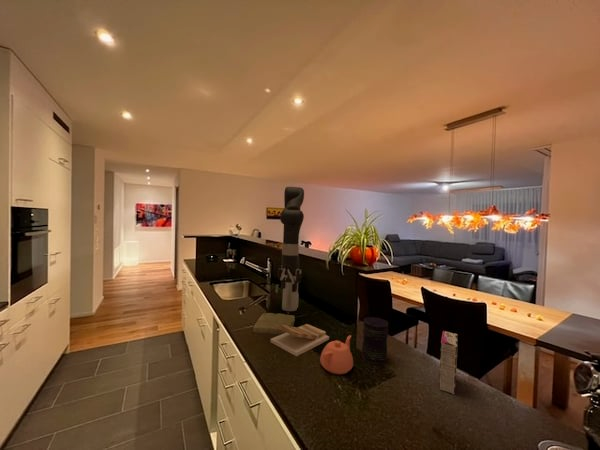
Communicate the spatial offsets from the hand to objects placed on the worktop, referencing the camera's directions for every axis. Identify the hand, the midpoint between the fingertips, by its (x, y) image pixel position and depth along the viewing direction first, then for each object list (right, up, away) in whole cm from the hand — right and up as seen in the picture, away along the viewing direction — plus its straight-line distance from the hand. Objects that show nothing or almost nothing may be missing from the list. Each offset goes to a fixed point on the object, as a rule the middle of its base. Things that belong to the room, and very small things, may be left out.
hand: (288, 290), depth 116 cm
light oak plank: (+11, -22, +6) cm, 25 cm away
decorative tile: (-7, -23, +16) cm, 29 cm away
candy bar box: (+57, -26, -27) cm, 68 cm away
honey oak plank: (+3, -19, -3) cm, 19 cm away
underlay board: (+5, -23, 0) cm, 24 cm away
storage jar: (+36, -25, -12) cm, 45 cm away
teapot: (+20, -24, -19) cm, 36 cm away
